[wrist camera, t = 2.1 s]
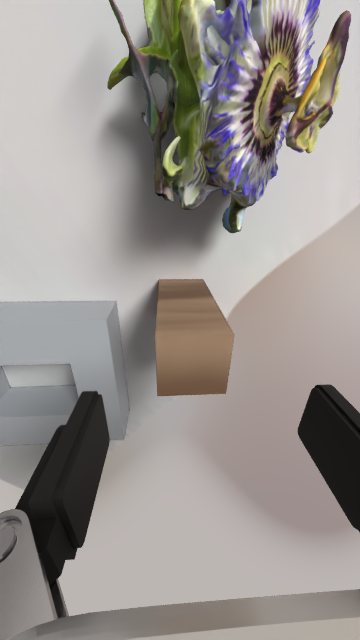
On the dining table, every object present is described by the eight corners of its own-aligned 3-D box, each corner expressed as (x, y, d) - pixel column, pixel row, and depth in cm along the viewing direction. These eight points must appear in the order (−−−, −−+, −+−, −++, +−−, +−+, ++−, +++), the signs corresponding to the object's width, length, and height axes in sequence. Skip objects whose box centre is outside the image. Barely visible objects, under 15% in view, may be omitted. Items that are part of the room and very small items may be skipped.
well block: (-69, 302, 19) (-121, 323, 16) (116, 300, 20) (106, 320, 17) (-10, 414, 26) (-38, 447, 22) (129, 408, 27) (124, 439, 23)
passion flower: (229, 160, 21) (278, 253, 15) (108, 146, 18) (115, 254, 13) (312, -89, 11) (526, -75, 6) (78, -196, 8) (52, -372, 3)
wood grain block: (159, 279, 20) (155, 336, 11) (203, 279, 20) (234, 334, 11) (160, 319, 22) (157, 396, 13) (200, 318, 22) (225, 393, 13)
